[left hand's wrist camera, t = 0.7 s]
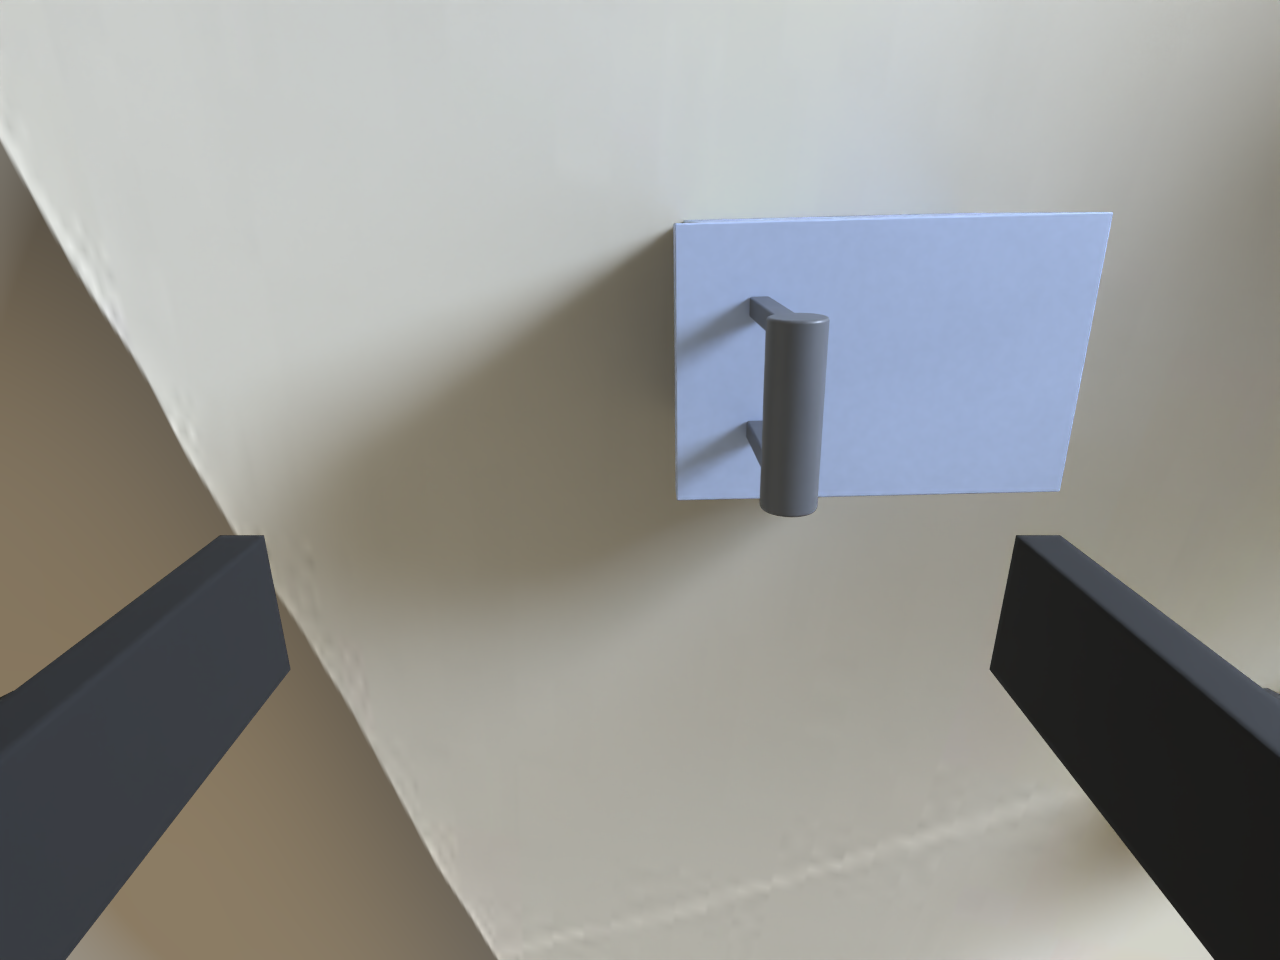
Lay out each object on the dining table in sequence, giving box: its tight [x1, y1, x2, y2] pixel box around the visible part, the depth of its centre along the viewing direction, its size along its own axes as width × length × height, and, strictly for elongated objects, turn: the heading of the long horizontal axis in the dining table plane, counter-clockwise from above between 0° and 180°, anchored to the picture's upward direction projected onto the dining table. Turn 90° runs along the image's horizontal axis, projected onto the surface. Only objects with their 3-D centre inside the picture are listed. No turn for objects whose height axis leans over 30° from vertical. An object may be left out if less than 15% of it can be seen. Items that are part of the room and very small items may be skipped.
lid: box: [673, 212, 1113, 517], centre depth 23 cm, size 15×10×8 cm
